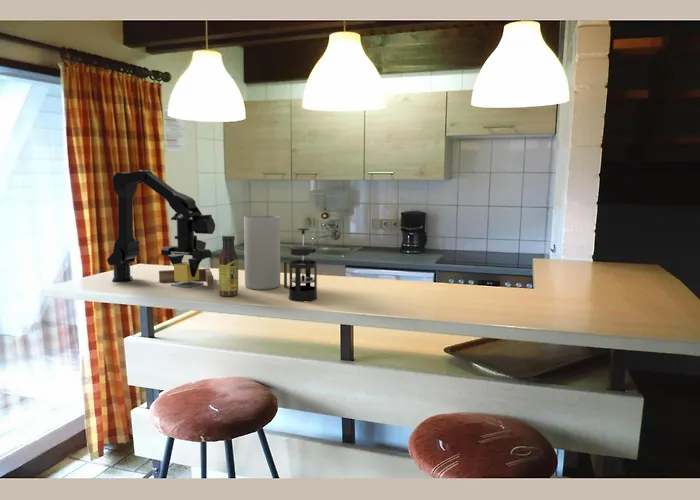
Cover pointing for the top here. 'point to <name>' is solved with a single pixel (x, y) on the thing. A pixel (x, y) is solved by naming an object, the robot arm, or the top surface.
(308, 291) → the french press
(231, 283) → the sauce bottle
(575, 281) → the top surface
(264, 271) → the cylinder vase
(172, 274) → the corner arena
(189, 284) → the pad
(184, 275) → the ochre cube
